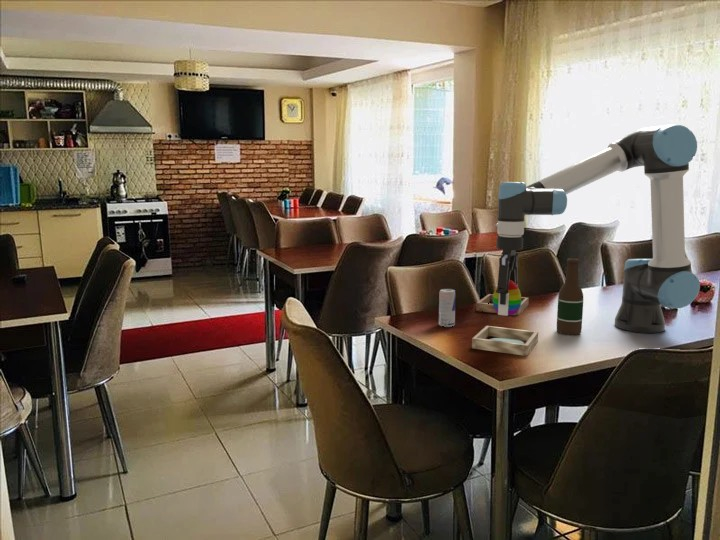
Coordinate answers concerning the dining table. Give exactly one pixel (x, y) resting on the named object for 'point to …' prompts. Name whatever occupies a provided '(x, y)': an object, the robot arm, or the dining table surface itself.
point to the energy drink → (447, 307)
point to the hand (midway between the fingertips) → (506, 311)
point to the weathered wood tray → (486, 307)
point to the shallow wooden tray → (505, 347)
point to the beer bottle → (570, 302)
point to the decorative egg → (510, 298)
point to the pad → (508, 340)
